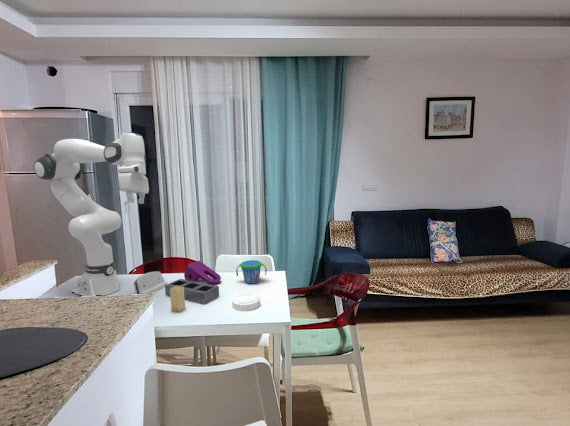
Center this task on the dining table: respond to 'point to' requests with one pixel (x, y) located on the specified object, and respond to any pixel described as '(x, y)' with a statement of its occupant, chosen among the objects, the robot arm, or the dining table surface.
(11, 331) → the dining table surface
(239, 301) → the mooncake
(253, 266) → the snack cup
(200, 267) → the mounting bracket
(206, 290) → the grey rectangular block
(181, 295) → the brass peg
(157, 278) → the hinge
